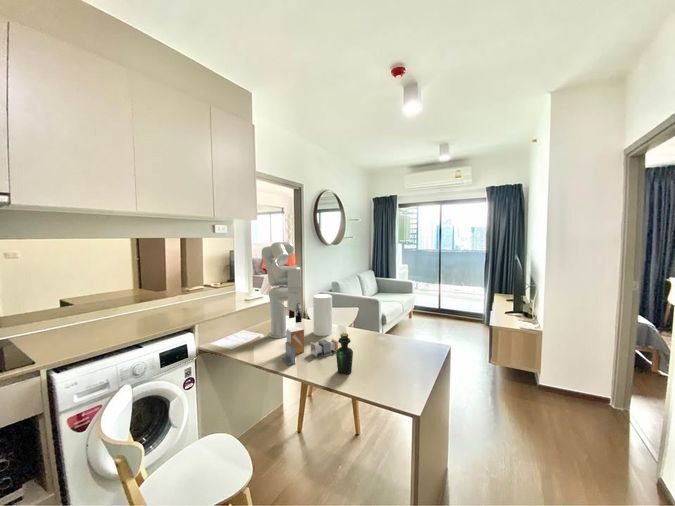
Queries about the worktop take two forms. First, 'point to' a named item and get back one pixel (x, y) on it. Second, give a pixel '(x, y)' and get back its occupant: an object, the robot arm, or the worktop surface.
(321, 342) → the guide block
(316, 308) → the cylinder
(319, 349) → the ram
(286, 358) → the plate
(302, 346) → the small box
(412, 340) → the worktop surface
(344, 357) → the potion bottle
